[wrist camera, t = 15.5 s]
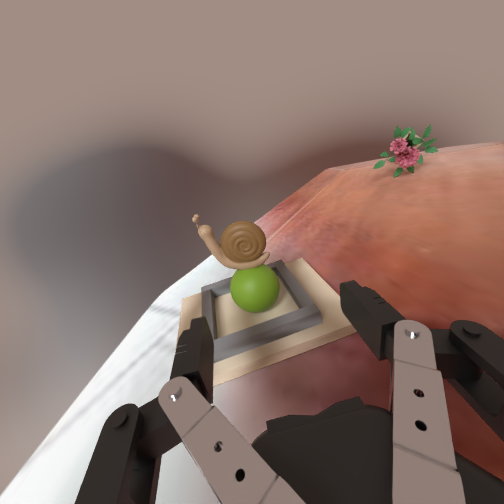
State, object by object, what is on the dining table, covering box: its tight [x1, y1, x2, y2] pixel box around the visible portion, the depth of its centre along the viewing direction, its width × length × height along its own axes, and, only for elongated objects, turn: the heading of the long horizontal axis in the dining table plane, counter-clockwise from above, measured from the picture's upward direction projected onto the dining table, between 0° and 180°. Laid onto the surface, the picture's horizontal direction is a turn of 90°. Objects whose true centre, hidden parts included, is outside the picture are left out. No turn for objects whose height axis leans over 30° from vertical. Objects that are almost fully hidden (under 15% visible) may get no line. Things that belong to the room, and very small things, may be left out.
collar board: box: [176, 258, 357, 386], centre depth 26 cm, size 18×14×3 cm
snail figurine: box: [193, 214, 280, 313], centre depth 24 cm, size 5×6×12 cm
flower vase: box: [373, 125, 438, 177], centre depth 62 cm, size 12×12×35 cm
